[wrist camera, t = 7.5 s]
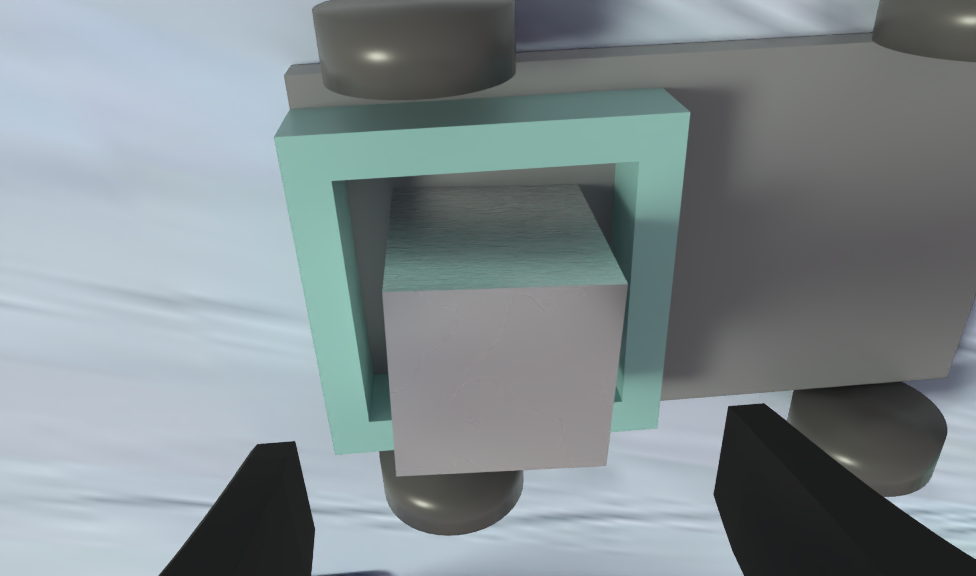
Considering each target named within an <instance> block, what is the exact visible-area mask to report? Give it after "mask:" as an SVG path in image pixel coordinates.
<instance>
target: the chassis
mask: <svg viewBox="0 0 976 576" xmlns="http://www.w3.org/2000/svg"><path fill="white" fill-rule="evenodd" d="M312 13H313V20H314V26H315V33H316V39H317V46H318V53H319V59H320V64H303V65H291V66H290V68H289V69H288V70H287V72H286V73H285V75H284V79H285V84H286V90H287V95H288V101H289V107H290V110H289V112H288V114H287V115H286V117H285V119H284V121H283V122H282V124H281V126H280V128H279V129H278V131H277V133H276V135H275V136H274V140H275V146H276V151H277V156H278V161H279V166H280V172H281V177H282V182H283V187H284V192H285V197H286V203H287V208H288V213H289V218H290V223H291V229H292V234H293V239H294V244H295V249H296V255H297V260H298V265H299V270H300V275H301V281H302V286H303V291H304V296H305V301H306V307H307V312H308V317H309V322H310V327H311V332H312V338H313V343H314V348H315V353H316V358H317V364H318V369H319V374H320V379H321V384H322V390H323V395H324V400H325V405H326V410H327V416H328V421H329V426H330V431H331V436H332V441H333V447H334V452H335V455H339V454H351V453H364V452H376V451H379V452H380V462H381V469H382V476H383V482H384V489H385V495H386V499H387V502H388V504H389V506H390V508H391V510H392V511H393V513H394V514H395V515H396V516H397V517H398V518H399V519H400V520H401V521H403V522H404V523H405V524H407V525H409V526H410V527H412V528H415V529H417V530H419V531H422V532H426V533H430V534H435V535H446V536H450V535H462V534H468V533H472V532H476V531H479V530H482V529H485V528H487V527H489V526H491V525H493V524H495V523H496V522H498V521H499V520H501V519H502V518H503V517H504V516H506V515H507V514H508V513H509V512H510V511H511V510H512V509H513V507H514V506H515V504H516V503H517V501H518V499H519V497H520V495H521V492H522V489H523V470H515V471H496V472H476V473H456V474H436V475H417V476H397V477H396V467H395V454H394V441H393V428H392V414H391V401H390V388H389V375H388V362H387V349H386V335H385V322H384V309H383V296H382V289H383V279H384V269H385V259H386V249H387V239H388V229H389V219H390V208H391V198H392V188H411V187H456V186H502V185H547V184H578V186H579V188H580V190H581V192H582V194H583V196H584V198H585V200H586V202H587V203H588V205H589V207H590V209H591V211H592V213H593V215H594V217H595V219H596V221H597V223H598V225H599V227H600V229H601V231H602V233H603V235H604V237H605V239H606V241H607V243H608V245H609V247H610V249H611V251H612V253H613V255H614V257H615V259H616V261H617V263H618V265H619V267H620V269H621V271H622V273H623V275H624V277H625V279H626V281H627V283H628V289H627V297H626V306H625V314H624V322H623V331H622V339H621V347H620V356H619V364H618V372H617V381H616V389H615V397H614V405H613V414H612V422H611V430H610V432H619V431H631V430H643V429H655V428H657V426H658V417H659V407H660V401H664V400H676V399H688V398H701V397H713V396H726V395H738V394H751V393H763V392H775V391H788V390H794V392H793V396H792V400H791V405H790V409H789V414H788V418H787V422H788V423H790V424H791V425H792V426H793V427H795V428H796V429H797V430H798V431H800V432H801V433H802V434H803V435H805V436H806V437H807V438H808V439H809V440H811V441H812V442H813V443H814V444H816V445H817V446H818V447H819V448H821V449H822V450H823V451H824V452H826V453H827V454H828V455H829V456H831V457H832V458H833V459H834V460H836V461H837V462H838V463H840V464H841V465H842V466H843V467H845V468H846V469H847V470H848V471H850V472H851V473H852V474H854V475H855V476H856V477H858V478H859V479H860V480H861V481H863V482H864V483H865V484H867V485H868V486H869V487H871V488H872V489H873V490H875V491H876V492H877V493H879V494H880V495H881V496H883V497H894V496H902V495H906V494H910V493H913V492H915V491H917V490H919V489H921V488H922V487H924V486H925V485H926V484H927V483H928V482H929V480H930V479H931V477H932V474H933V472H934V469H935V466H936V464H937V461H938V458H939V455H940V453H941V450H942V447H943V445H944V442H945V439H946V436H947V424H946V421H945V418H944V416H943V415H942V413H941V412H940V410H939V409H938V408H937V406H936V405H935V404H934V403H933V402H932V401H931V400H929V399H928V398H927V397H926V396H925V395H923V394H922V393H920V392H919V391H917V390H916V389H914V388H912V387H911V386H909V385H907V384H905V383H903V382H901V381H912V380H925V379H937V378H947V376H948V373H949V370H950V367H951V365H952V362H953V359H954V356H955V353H956V350H957V348H958V345H959V342H960V339H961V336H962V333H963V330H964V328H965V325H966V322H967V319H968V316H969V313H970V311H971V308H972V305H973V302H974V299H975V296H976V0H880V2H879V7H878V11H877V16H876V20H875V25H874V29H873V33H859V34H841V35H823V36H805V37H787V38H769V39H751V40H733V41H715V42H697V43H679V44H662V45H644V46H626V47H608V48H590V49H572V50H554V51H536V52H518V53H516V36H515V0H329V1H326V2H323V3H320V4H318V5H316V6H315V7H313V9H312Z"/></svg>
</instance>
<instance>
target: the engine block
mask: <svg viewBox="0 0 976 576" xmlns="http://www.w3.org/2000/svg"><path fill="white" fill-rule="evenodd" d="M627 289H628V283H627V281H626V279H625V277H624V275H623V273H622V271H621V269H620V267H619V265H618V263H617V261H616V259H615V257H614V255H613V253H612V251H611V249H610V247H609V245H608V243H607V241H606V239H605V237H604V235H603V233H602V231H601V229H600V227H599V225H598V223H597V221H596V219H595V217H594V215H593V213H592V211H591V209H590V207H589V205H588V203H587V202H586V200H585V198H584V196H583V194H582V192H581V190H580V188H579V186H578V184H547V185H502V186H456V187H411V188H392V198H391V208H390V219H389V229H388V239H387V249H386V259H385V269H384V279H383V289H382V296H383V309H384V322H385V335H386V349H387V362H388V375H389V388H390V401H391V414H392V428H393V441H394V454H395V467H396V477H397V476H417V475H436V474H456V473H476V472H496V471H515V470H535V469H555V468H575V467H594V466H606V464H607V455H608V447H609V439H610V430H611V422H612V414H613V405H614V397H615V389H616V381H617V372H618V364H619V356H620V347H621V339H622V331H623V322H624V314H625V306H626V297H627Z"/></svg>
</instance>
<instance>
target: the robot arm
mask: <svg viewBox="0 0 976 576" xmlns="http://www.w3.org/2000/svg"><path fill="white" fill-rule="evenodd" d="M714 498H715V501H716V504H717V507H718V510H719V513H720V516H721V519H722V522H723V525H724V528H725V531H726V534H727V537H728V539H729V542H730V545H731V548H732V551H733V553H734V555H735V557H736V559H737V562H738V564H739V566H740V568H741V570H742V572H743V574H744V576H976V559H974V558H973V557H971V556H969V555H968V554H966V553H964V552H963V551H961V550H960V549H958V548H957V547H955V546H954V545H952V544H950V543H949V542H947V541H946V540H944V539H943V538H941V537H940V536H938V535H937V534H935V533H934V532H932V531H931V530H930V529H928V528H927V527H925V526H924V525H922V524H921V523H919V522H918V521H917V520H915V519H914V518H912V517H911V516H909V515H908V514H906V513H905V512H904V511H902V510H901V509H899V508H898V507H897V506H895V505H894V504H892V503H891V502H890V501H888V500H887V499H886V498H884V497H883V496H881V495H880V494H879V493H877V492H876V491H875V490H873V489H872V488H871V487H869V486H868V485H867V484H865V483H864V482H863V481H861V480H860V479H859V478H858V477H856V476H855V475H854V474H852V473H851V472H850V471H848V470H847V469H846V468H845V467H843V466H842V465H841V464H840V463H838V462H837V461H836V460H834V459H833V458H832V457H831V456H829V455H828V454H827V453H826V452H824V451H823V450H822V449H821V448H819V447H818V446H817V445H816V444H814V443H813V442H812V441H811V440H809V439H808V438H807V437H806V436H805V435H803V434H802V433H801V432H800V431H798V430H797V429H796V428H795V427H793V426H792V425H791V424H790V423H788V422H787V421H786V420H785V419H783V418H782V417H781V416H780V415H778V414H777V413H776V412H775V411H773V410H772V409H771V408H769V407H768V406H767V405H765V404H764V403H762V404H750V405H738V406H728V411H727V417H726V423H725V429H724V435H723V441H722V447H721V453H720V459H719V465H718V471H717V477H716V483H715V489H714ZM314 536H315V527H314V523H313V518H312V514H311V509H310V505H309V500H308V496H307V492H306V487H305V483H304V478H303V474H302V469H301V465H300V460H299V456H298V452H297V447H296V443H295V441H292V442H279V443H267V444H257V445H256V446H255V447H254V448H253V450H252V451H251V452H250V454H249V455H248V456H247V458H246V459H245V461H244V462H243V464H242V465H241V467H240V468H239V470H238V471H237V472H236V474H235V475H234V477H233V478H232V480H231V481H230V482H229V484H228V485H227V487H226V488H225V490H224V491H223V492H222V494H221V495H220V497H219V498H218V499H217V501H216V502H215V504H214V505H213V506H212V508H211V509H210V510H209V512H208V513H207V515H206V516H205V517H204V518H203V520H202V521H201V522H200V524H199V525H198V526H197V528H196V529H195V530H194V532H193V533H192V534H191V536H190V537H189V538H188V540H187V541H186V542H185V543H184V545H183V546H182V547H181V549H180V550H179V551H178V553H177V554H176V555H175V556H174V558H173V559H172V560H171V561H170V562H169V564H168V565H167V566H166V567H165V568H164V570H163V571H162V572H161V573H160V574H159V576H311V571H312V560H313V548H314Z"/></svg>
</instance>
